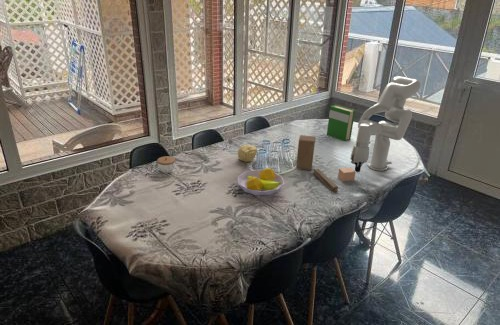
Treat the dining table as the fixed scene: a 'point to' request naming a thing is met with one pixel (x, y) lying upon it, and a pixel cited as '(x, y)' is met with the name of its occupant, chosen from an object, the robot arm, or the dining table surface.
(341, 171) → the block
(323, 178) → the brown wooden bar
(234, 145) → the dining table surface
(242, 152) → the pale yellow lumpy ball
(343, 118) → the hardback book
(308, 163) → the wooden block
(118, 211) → the dining table surface
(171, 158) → the lidded jar
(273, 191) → the fruit bowl
